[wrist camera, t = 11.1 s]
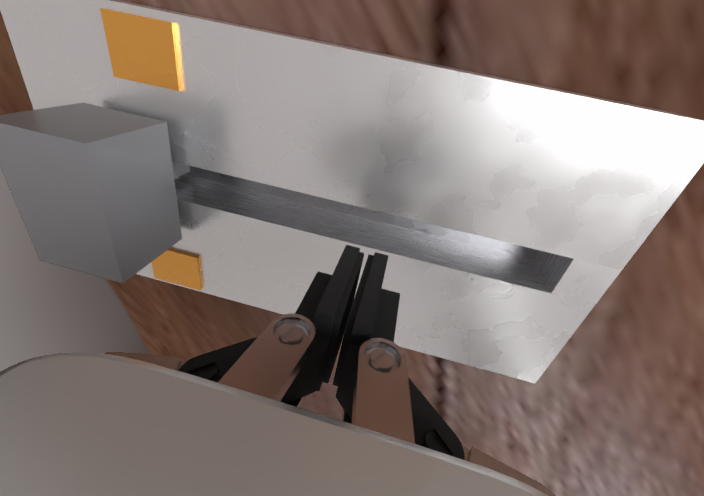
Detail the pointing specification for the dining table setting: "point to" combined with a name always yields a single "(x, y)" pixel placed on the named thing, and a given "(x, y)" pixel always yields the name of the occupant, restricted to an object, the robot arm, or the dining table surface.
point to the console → (374, 171)
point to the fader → (93, 186)
